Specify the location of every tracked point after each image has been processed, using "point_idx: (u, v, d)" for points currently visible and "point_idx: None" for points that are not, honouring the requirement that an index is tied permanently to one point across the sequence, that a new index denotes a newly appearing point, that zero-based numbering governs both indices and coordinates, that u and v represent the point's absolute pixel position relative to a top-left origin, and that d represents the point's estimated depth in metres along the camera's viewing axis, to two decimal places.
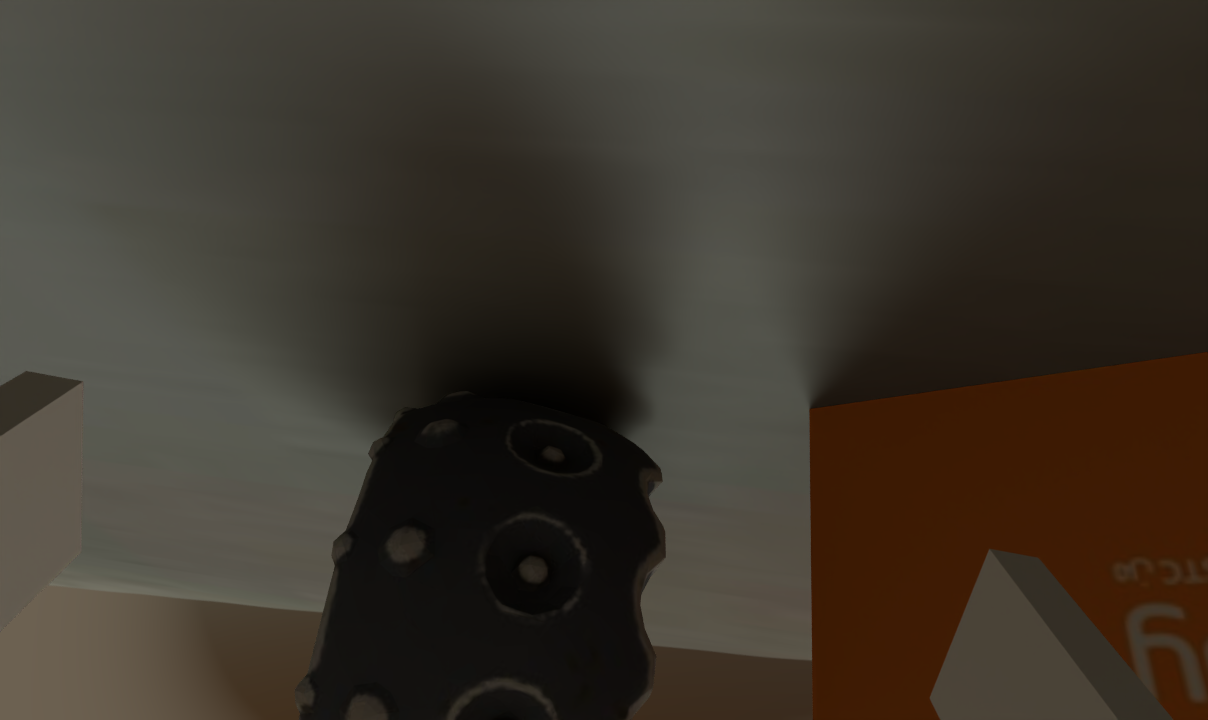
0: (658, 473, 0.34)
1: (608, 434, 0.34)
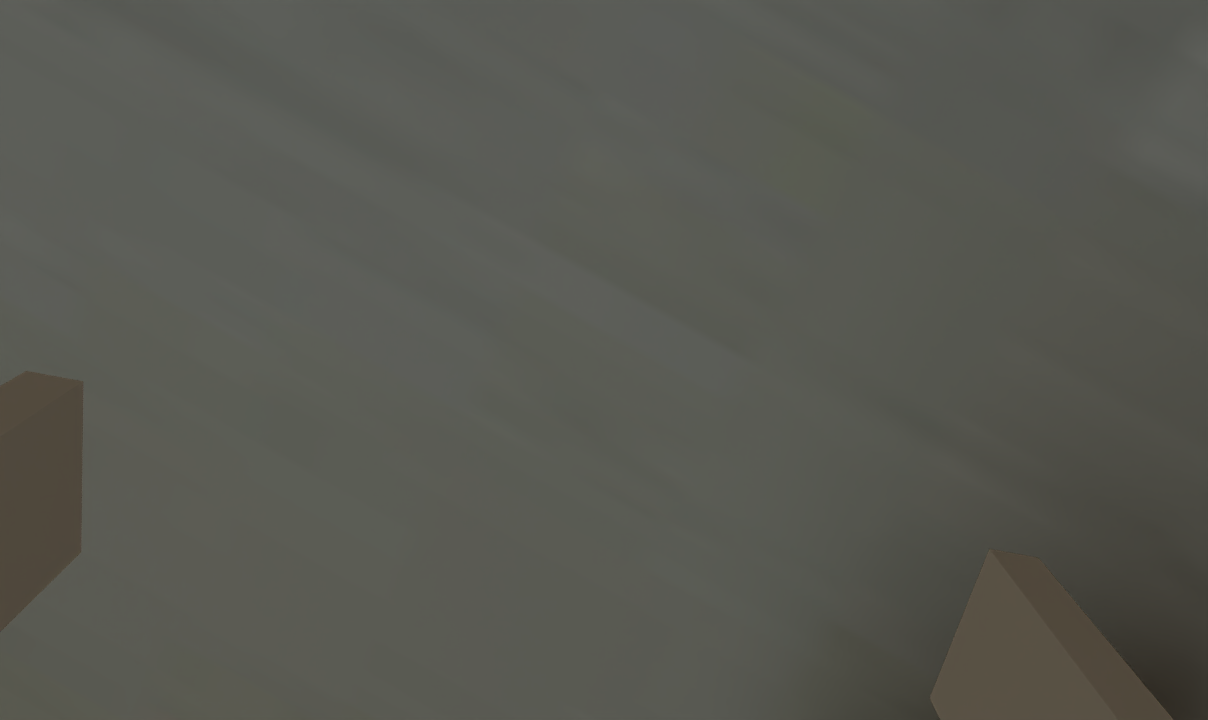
0: None
1: None
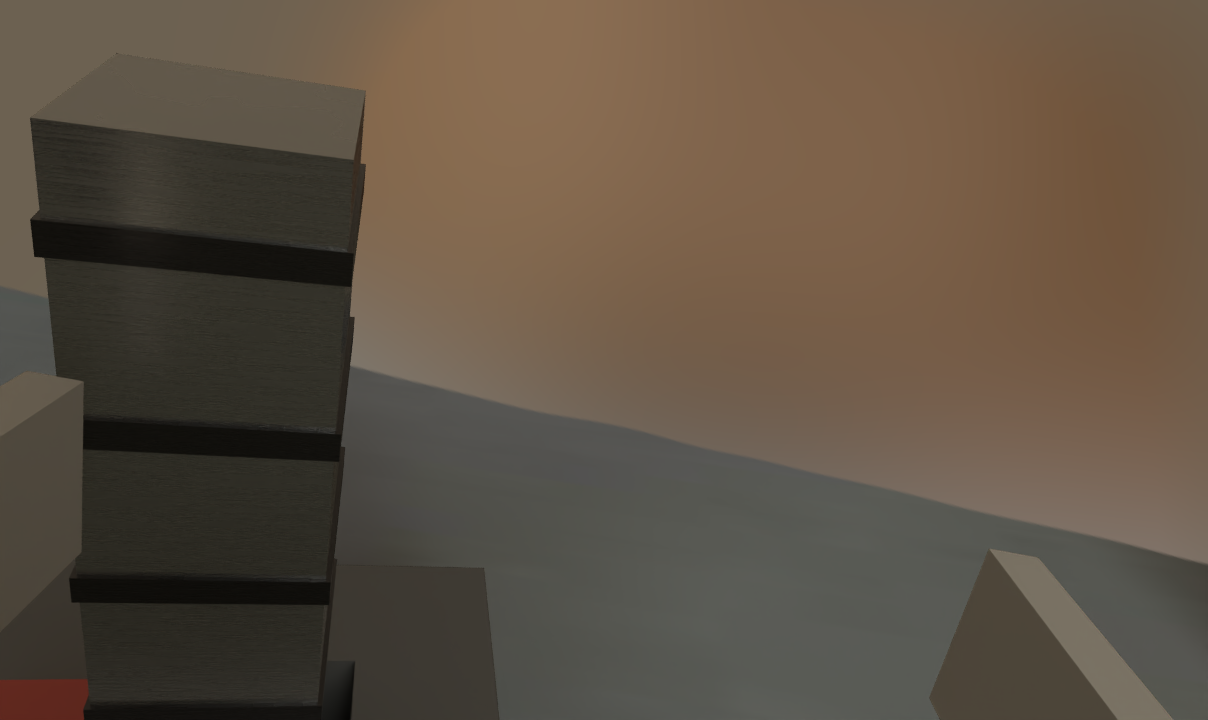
0: None
1: None
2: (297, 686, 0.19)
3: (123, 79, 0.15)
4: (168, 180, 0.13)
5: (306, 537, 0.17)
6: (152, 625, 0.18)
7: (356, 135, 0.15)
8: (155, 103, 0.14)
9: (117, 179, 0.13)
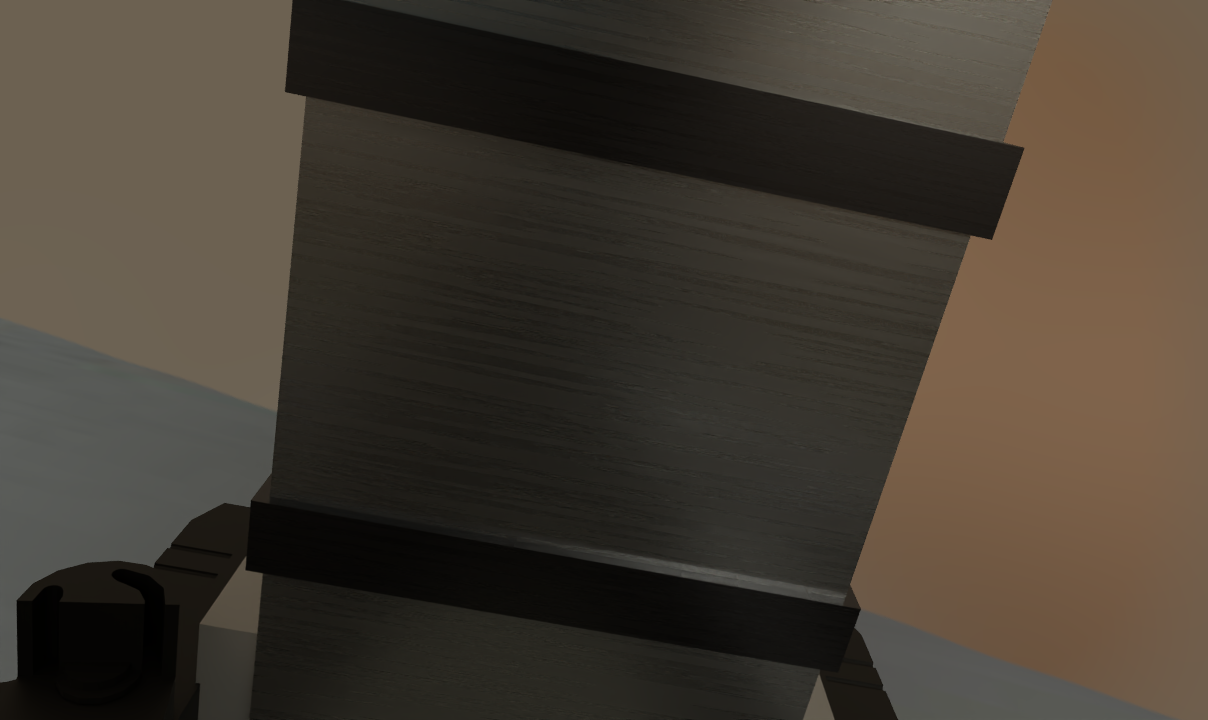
0: None
1: None
2: None
3: None
4: None
5: None
6: None
7: None
8: None
9: None
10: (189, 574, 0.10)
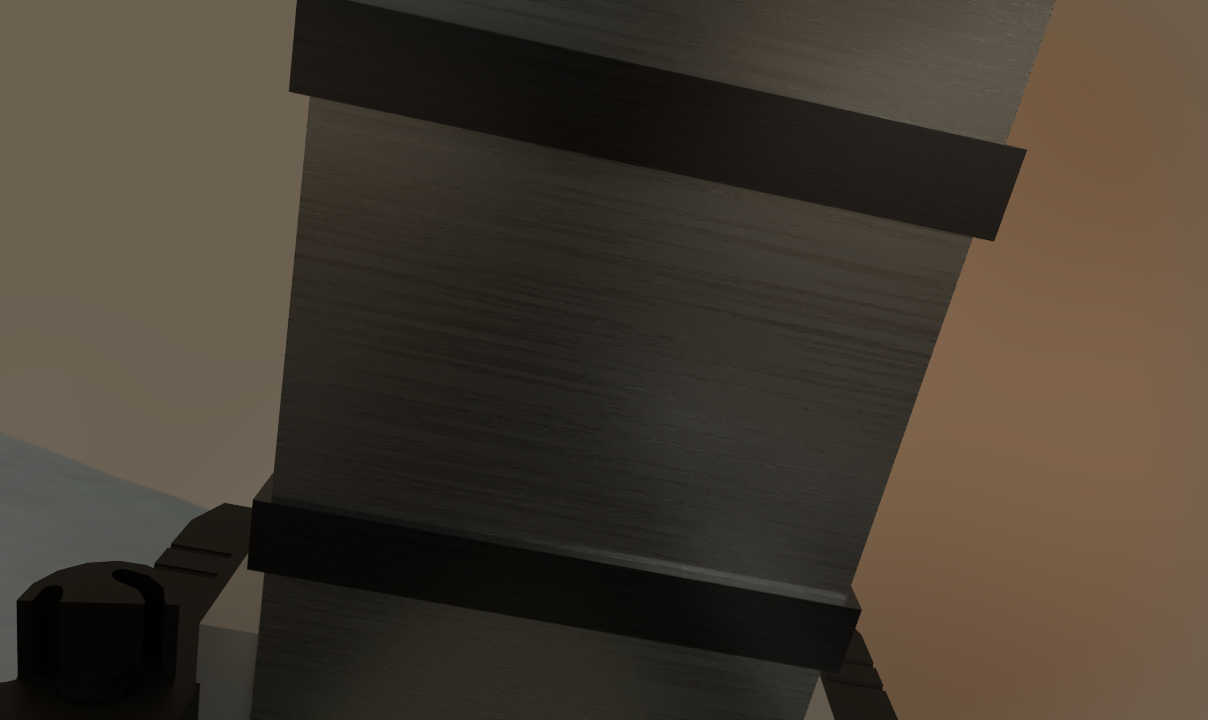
0: None
1: None
2: None
3: None
4: None
5: None
6: None
7: None
8: None
9: None
10: (189, 574, 0.10)
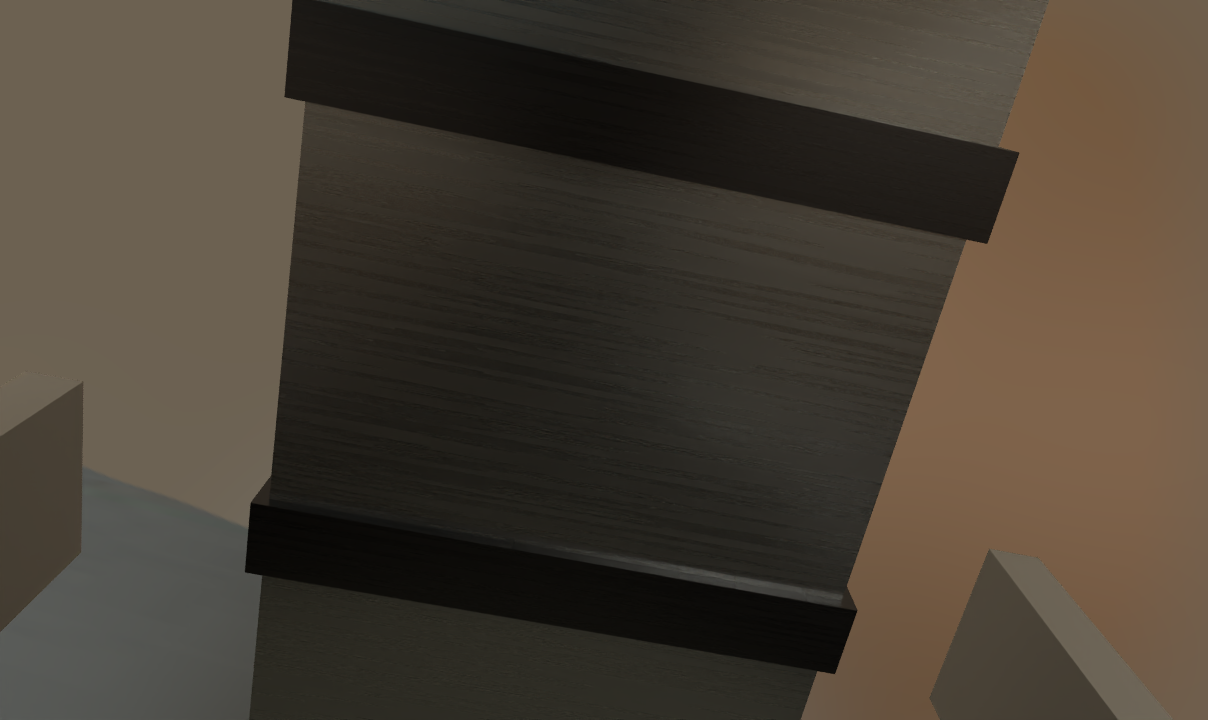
0: None
1: None
2: None
3: None
4: None
5: None
6: None
7: None
8: None
9: None
10: None
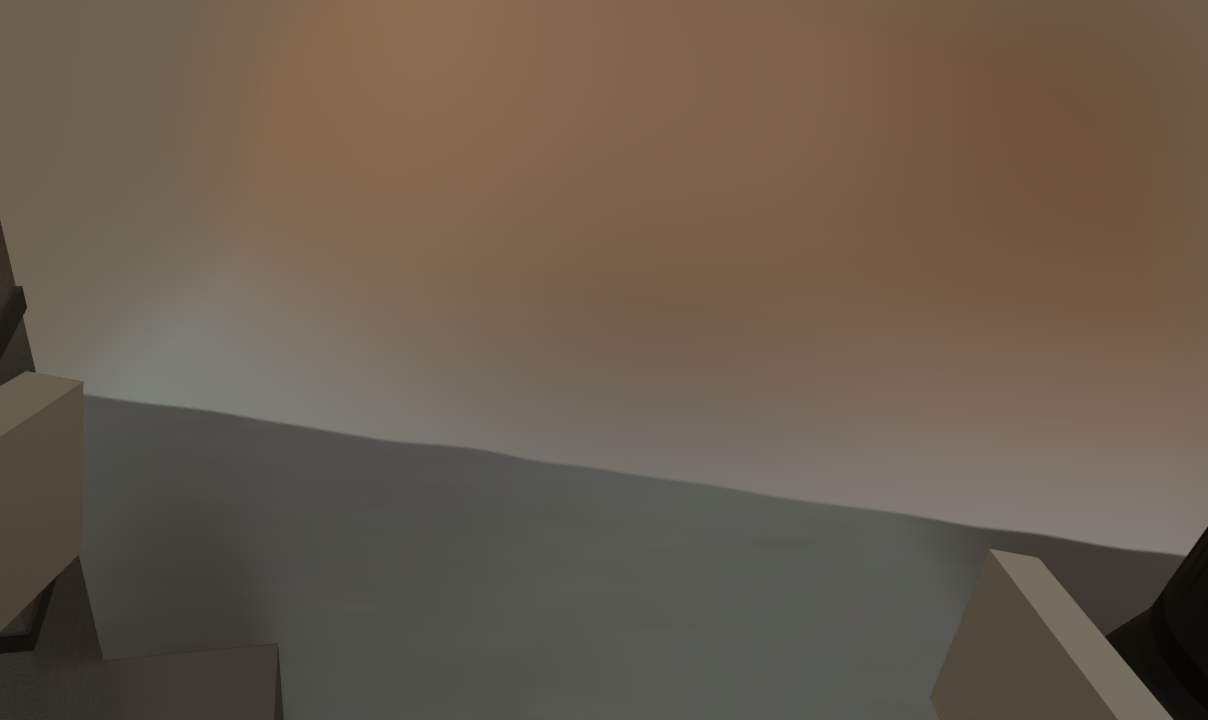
0: None
1: None
2: None
3: None
4: None
5: None
6: None
7: None
8: None
9: None
10: None
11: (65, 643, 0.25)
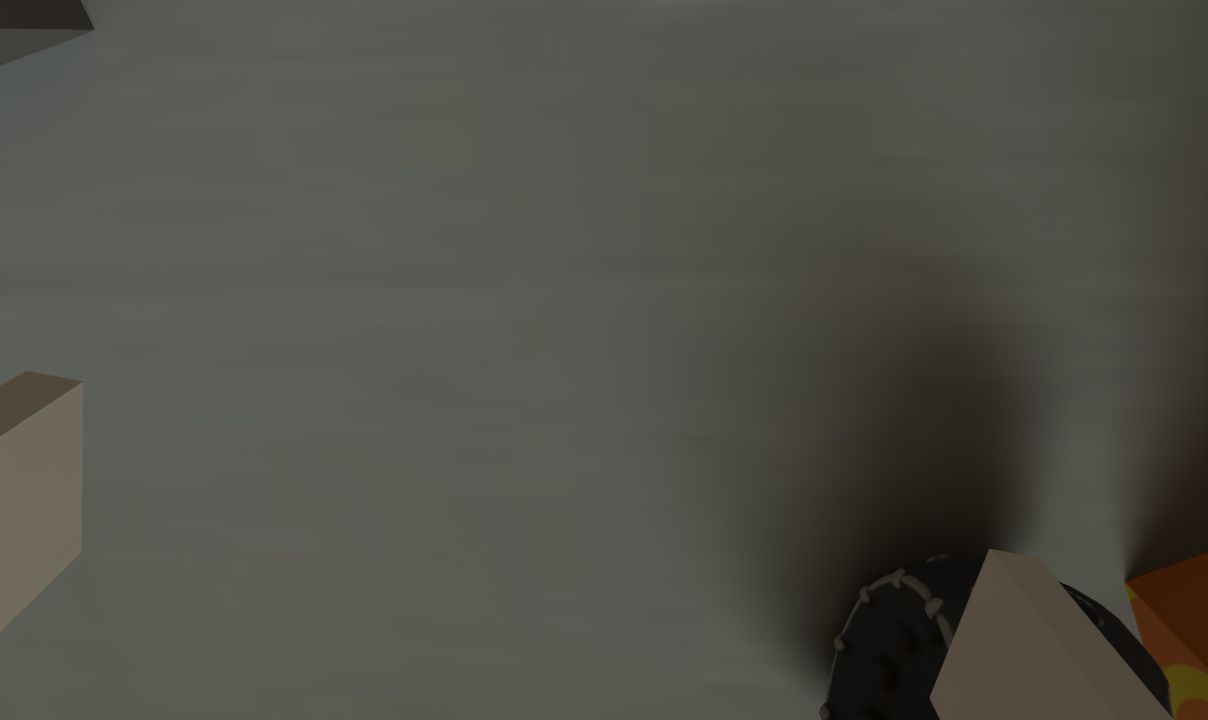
0: None
1: None
2: None
3: None
4: None
5: None
6: None
7: None
8: None
9: None
10: None
11: None
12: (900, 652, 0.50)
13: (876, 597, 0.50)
